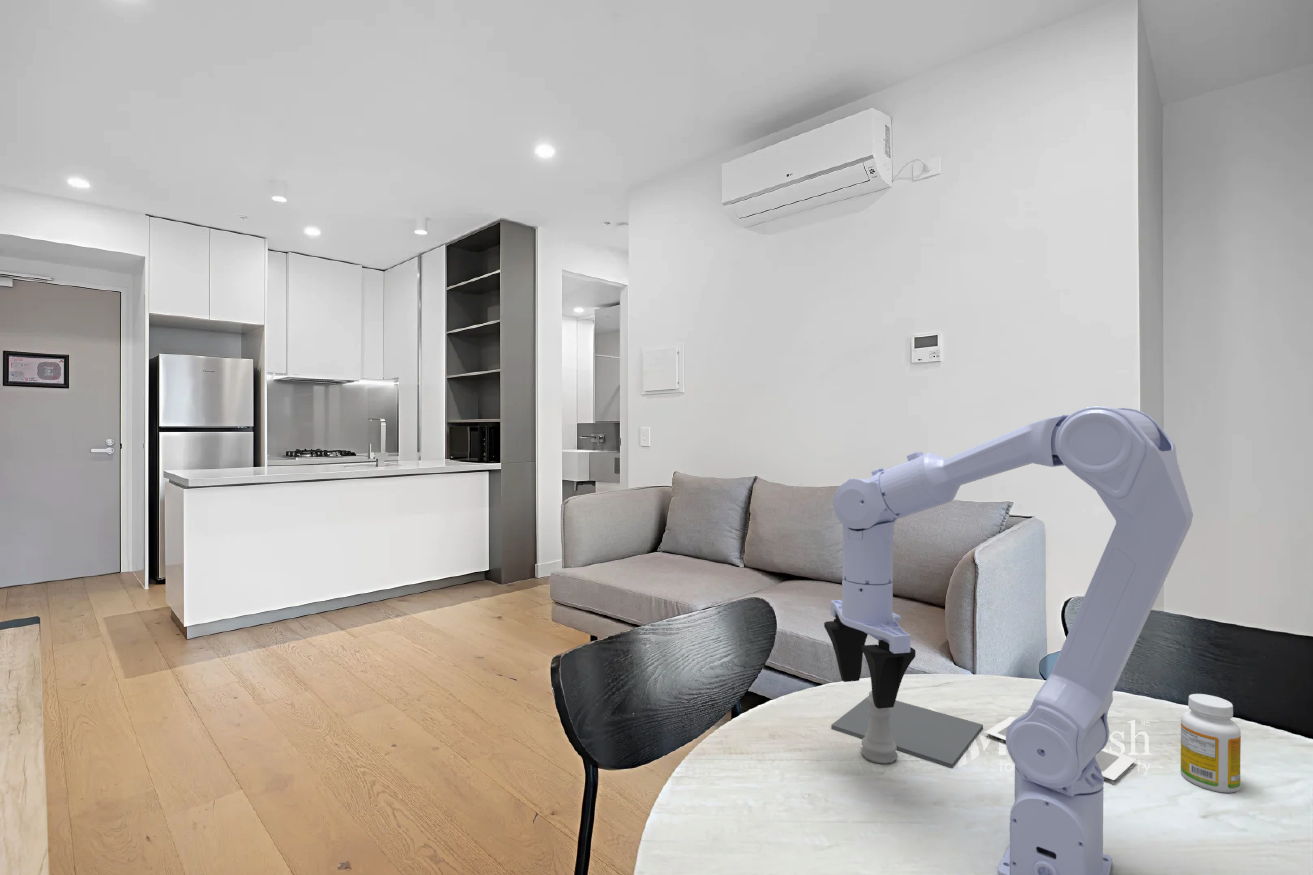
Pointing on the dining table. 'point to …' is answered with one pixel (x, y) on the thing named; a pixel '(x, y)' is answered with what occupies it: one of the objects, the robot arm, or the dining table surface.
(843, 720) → the mat
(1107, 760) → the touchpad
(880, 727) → the rook chess piece
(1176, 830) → the dining table surface
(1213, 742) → the supplement bottle
